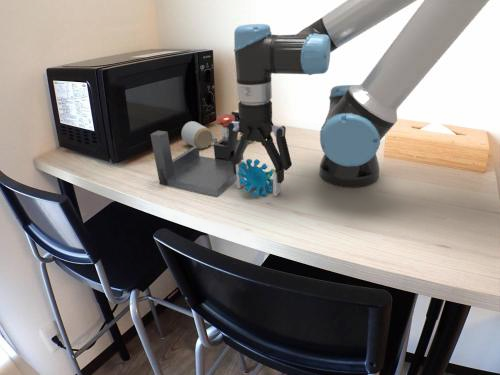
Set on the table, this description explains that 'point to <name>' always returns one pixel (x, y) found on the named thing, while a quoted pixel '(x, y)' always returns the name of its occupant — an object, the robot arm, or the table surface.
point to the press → (193, 167)
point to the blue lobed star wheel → (256, 177)
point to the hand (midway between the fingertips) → (258, 189)
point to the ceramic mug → (197, 135)
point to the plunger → (225, 125)
